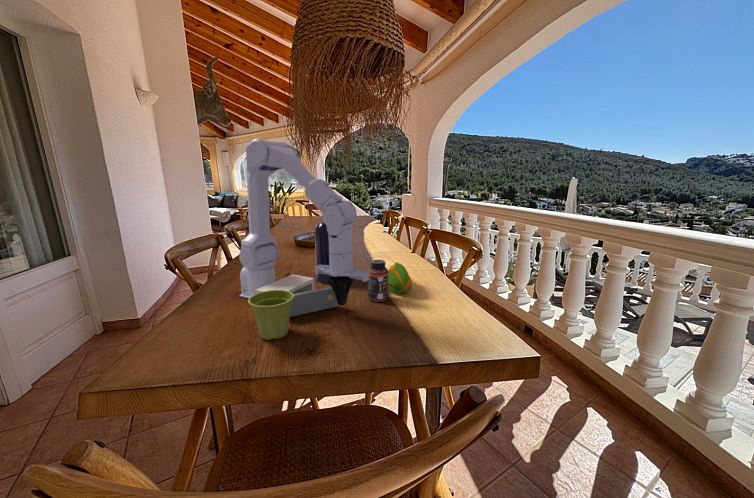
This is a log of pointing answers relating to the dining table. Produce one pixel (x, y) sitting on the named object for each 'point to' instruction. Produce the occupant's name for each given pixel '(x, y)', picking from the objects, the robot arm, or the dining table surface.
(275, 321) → the plant pot
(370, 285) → the supplement bottle
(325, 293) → the door
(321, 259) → the bottle
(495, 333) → the dining table surface
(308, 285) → the cabinet
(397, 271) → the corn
